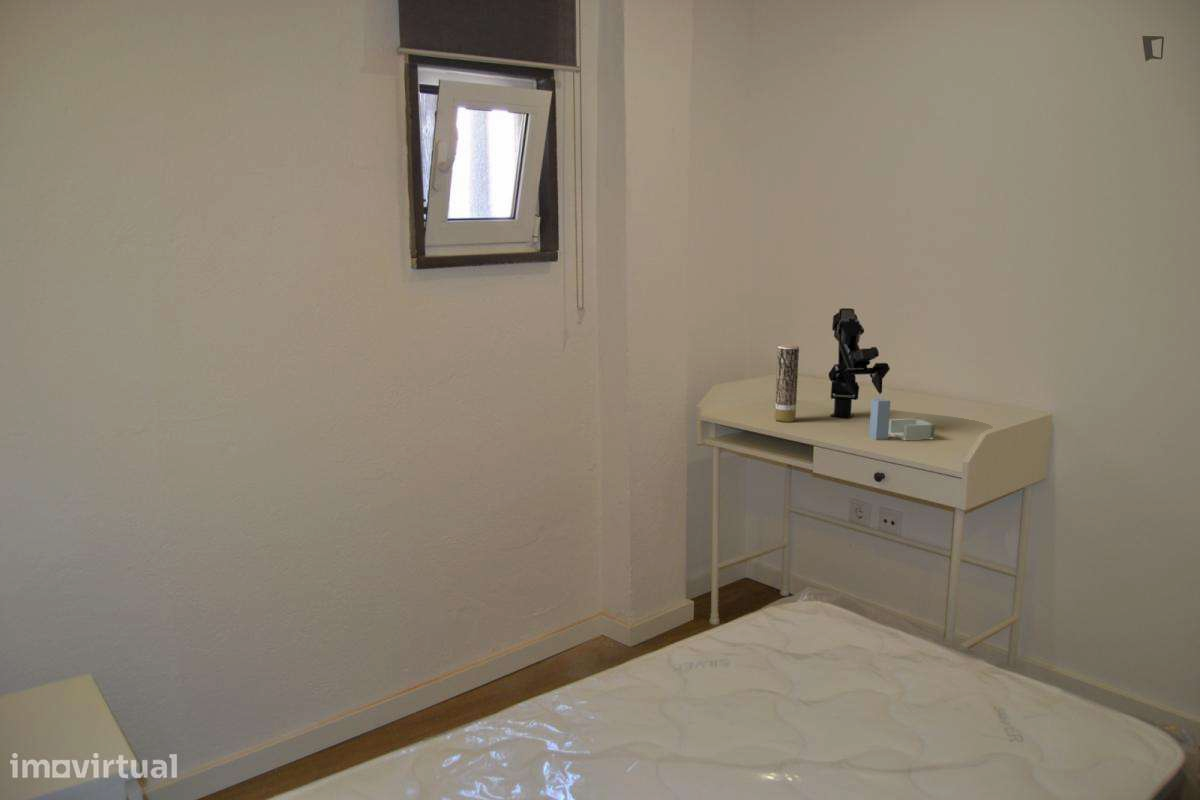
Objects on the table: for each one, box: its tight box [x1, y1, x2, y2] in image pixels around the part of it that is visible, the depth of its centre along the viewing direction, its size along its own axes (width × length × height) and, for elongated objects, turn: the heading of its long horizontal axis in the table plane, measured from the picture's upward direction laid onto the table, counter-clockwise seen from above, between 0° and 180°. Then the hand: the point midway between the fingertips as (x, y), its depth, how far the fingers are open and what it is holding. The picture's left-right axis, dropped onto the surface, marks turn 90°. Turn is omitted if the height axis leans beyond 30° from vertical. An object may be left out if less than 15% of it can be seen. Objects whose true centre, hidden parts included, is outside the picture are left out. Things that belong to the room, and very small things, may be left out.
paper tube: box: [774, 344, 800, 423], centre depth 289 cm, size 7×7×25 cm
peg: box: [868, 397, 891, 441], centre depth 266 cm, size 4×4×12 cm
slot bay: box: [888, 417, 936, 442], centre depth 269 cm, size 10×9×5 cm
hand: (867, 393), depth 272 cm, fingers open, 9 cm apart
